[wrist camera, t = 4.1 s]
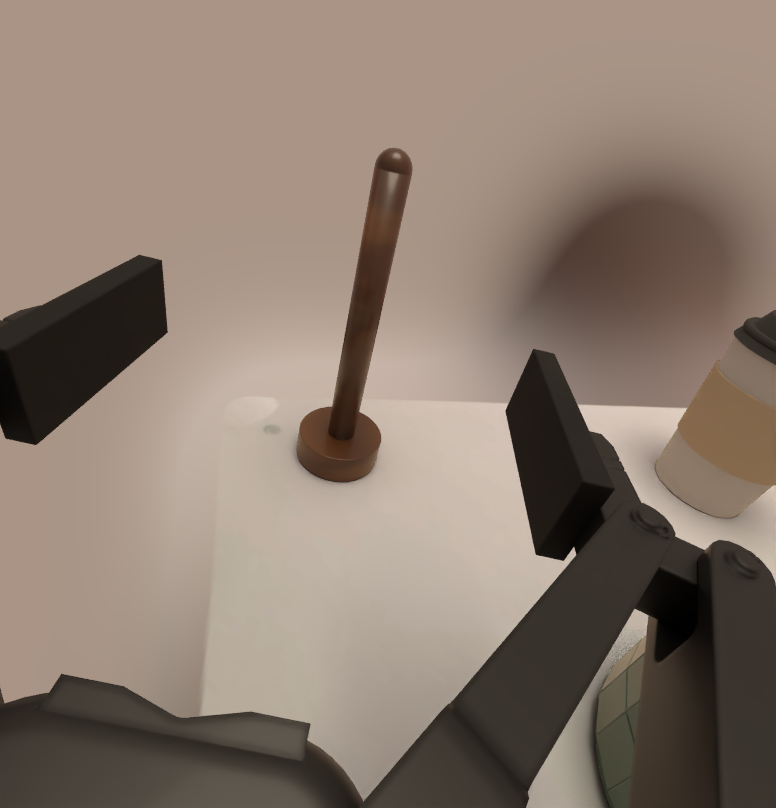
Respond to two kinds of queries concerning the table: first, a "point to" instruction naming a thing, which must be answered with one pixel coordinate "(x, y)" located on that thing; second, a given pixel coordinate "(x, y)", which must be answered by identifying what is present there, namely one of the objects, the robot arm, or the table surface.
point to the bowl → (619, 725)
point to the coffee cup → (728, 428)
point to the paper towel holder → (359, 336)
